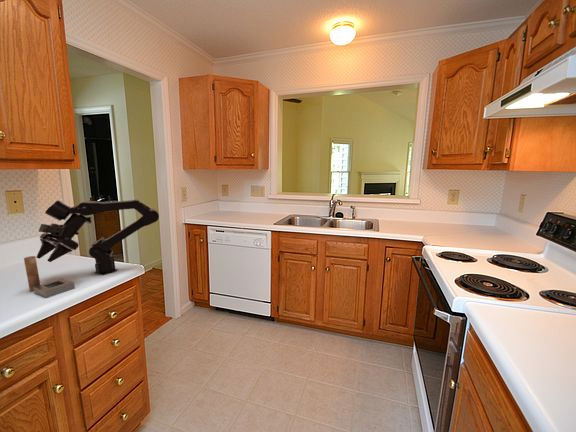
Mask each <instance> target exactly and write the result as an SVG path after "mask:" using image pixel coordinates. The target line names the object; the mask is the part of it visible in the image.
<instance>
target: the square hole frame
mask: <svg viewBox="0 0 576 432" xmlns="http://www.w3.org/2000/svg"><path fill="white" fill-rule="evenodd" d="M75 288H76V287H75V282H74V281H71V280H68V279H65V278H62V277H61V278H57V279H55V280H51V281H47V282H45V283H40V285H38V286H34V294H36V295H38V296H41V297H44V298H45V299H47V298H50V297H54V296H57V295H60V294H61V293H64V292H68V291H72V290H74V289H75Z"/></svg>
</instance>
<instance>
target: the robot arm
mask: <svg viewBox="0 0 576 432" xmlns="http://www.w3.org/2000/svg"><path fill="white" fill-rule="evenodd" d="M133 209H134V210H135V211H137V212H138V213H139V214H140V215H141V216H140V217H138V219H137V220H135V221H134V222H132V223H130V224H129V225H127V226H125V227H123V228H122V229H120V231H119V230H118V232H115V234H113V235H111V236H109V237H108V238H105V237H104V236H102V237H101V238H100V239H98V240H95V241H94V242H93V243H92V244H91V247H90V248H89V250H88V254H89V256H90V257H91V258H93V259H94V260H95V263H94V268H95V271H94V273H95V274H98V275H102V276H105V275H107V274H111V273H113V272H117V271H118V269H117V268H116V263H115V257H114V256H113V253H114V251H113V250H112V248H113V247H115V245H117V244H119V242H120V243H121V242H122V241H123V240H124V239H126V238H128V237H129V236H131V235H132V234H134V233H135V232H137V231H139V230H140V229H141V228H143V227H146V226H150V225H151V224H155V223H156V222H157V221H159V218H160V214H159V211H158V210H157V209H155V208H151V207H149V206H148V205H146V204H145V203H143V202H141V201H140V200H139V199H137V198H136V199H132V200H119V201H118V200H117V201H106V202H103V201H94V200H86V201H82V202H80V203H79V204H78V205H76V206H75V205H74V206H69V205H67V204H65V203H63V201H61V200H56V201H55V202H54V203H52V204H51V206H49V207H47V209H46V210H45V213H44V214H45V215H47V216H49V217H51V218H52V219H55V220H57V221H60V222H61V221H63V220H64V221H65V222H63V224H58V223H54V222H53V223H51V224H46V223H41V224H40V226H39V228H38V232H40V233H42V234H41V235H40V236H39V241H40V243H41V245H40V249H39V250H38V252H37V254H36V256H35V257H36V259H41V258H43V257H44V256H46V255H47V254H49V253H50V252H52V253H51V254H50V256H49V257H48V258H47V260H46V261H47V262H49V263H52V262H54V261H55V260H57V259H59V258H61V257H62V256H65V255H67V254H68V253H71V252H73V251H76V250H77V249H78V248H79V243H78V242H77V241H75V240H73V238H74V237H75V235H76V236H78V235H79V231H80V230H81V228H82V227H83V226H84V225H85V224H88V225H91V224H92V217H91V215H96V214H99V213H103V212H108V211H109V212H111V211H122V210H133Z"/></svg>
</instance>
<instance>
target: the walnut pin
mask: <svg viewBox="0 0 576 432" xmlns="http://www.w3.org/2000/svg"><path fill="white" fill-rule="evenodd" d="M36 257H37V256H35V255H31V256H30V255H29V256H26V257H24V258H23V261H24V266H25V267H24V268H25V271H26V272H25V273H26V278H27V283H28V288H29V292H32V293H33V292H34V286H38V285H41V281H40V276H39V274H40V273H39V269H38V264H37V258H36ZM34 293H35V292H34Z"/></svg>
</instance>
